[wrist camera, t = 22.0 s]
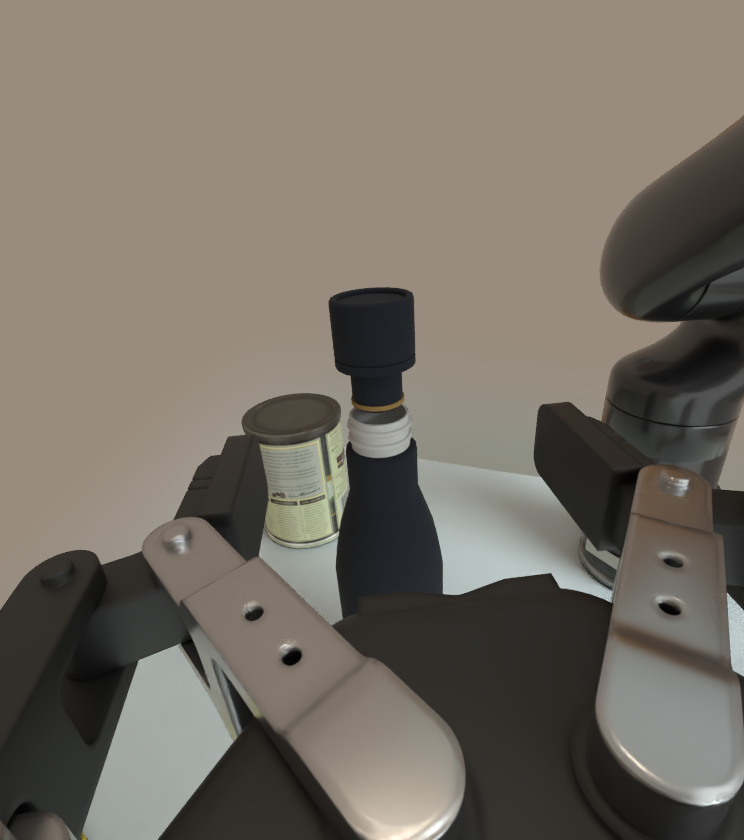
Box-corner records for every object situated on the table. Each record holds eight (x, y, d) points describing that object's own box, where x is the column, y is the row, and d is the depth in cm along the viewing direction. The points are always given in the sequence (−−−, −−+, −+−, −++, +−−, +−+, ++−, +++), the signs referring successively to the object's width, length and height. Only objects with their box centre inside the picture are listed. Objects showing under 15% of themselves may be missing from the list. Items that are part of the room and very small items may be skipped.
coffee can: (263, 502, 58) (242, 400, 52) (344, 487, 60) (332, 387, 54) (266, 558, 49) (239, 443, 43) (360, 538, 51) (348, 425, 45)
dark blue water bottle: (364, 661, 38) (320, 284, 24) (443, 670, 36) (444, 279, 23) (347, 745, 32) (279, 315, 19) (441, 759, 31) (440, 310, 17)
